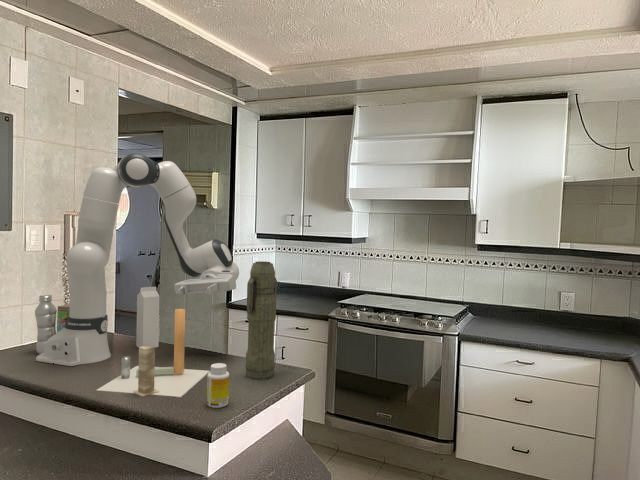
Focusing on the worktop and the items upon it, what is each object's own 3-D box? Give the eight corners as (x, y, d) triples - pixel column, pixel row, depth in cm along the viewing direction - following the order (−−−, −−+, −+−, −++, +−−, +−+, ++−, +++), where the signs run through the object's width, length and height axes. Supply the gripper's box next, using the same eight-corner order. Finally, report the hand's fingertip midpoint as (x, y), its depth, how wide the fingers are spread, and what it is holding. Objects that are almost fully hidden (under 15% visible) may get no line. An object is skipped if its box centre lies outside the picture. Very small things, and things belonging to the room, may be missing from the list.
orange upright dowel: (136, 376, 140) (137, 311, 139) (136, 373, 143) (137, 309, 142) (184, 373, 144) (185, 310, 144) (183, 370, 147) (185, 308, 146)
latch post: (142, 398, 126) (143, 350, 125) (132, 393, 129) (133, 347, 129) (159, 393, 130) (160, 347, 129) (149, 388, 133) (150, 343, 132)
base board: (95, 391, 130) (95, 390, 130) (136, 366, 152) (137, 365, 152) (180, 397, 127) (180, 396, 127) (209, 371, 149) (209, 370, 149)
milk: (158, 347, 176) (160, 287, 175) (142, 349, 172) (143, 288, 171) (151, 343, 180) (153, 285, 179) (135, 346, 176) (137, 286, 175)
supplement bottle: (233, 404, 123) (234, 365, 123) (215, 410, 119) (216, 370, 119) (220, 398, 127) (221, 360, 127) (202, 404, 123) (203, 365, 123)
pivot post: (119, 378, 139) (119, 358, 139) (123, 376, 142) (124, 356, 142) (127, 379, 139) (127, 358, 139) (131, 376, 142) (131, 356, 141)
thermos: (282, 372, 151) (285, 261, 149) (260, 383, 140) (264, 264, 139) (259, 367, 155) (262, 260, 153) (236, 377, 144) (239, 262, 143)
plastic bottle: (62, 352, 165) (61, 294, 165) (43, 357, 159) (41, 297, 159) (50, 351, 168) (49, 294, 168) (31, 355, 162) (29, 296, 162)
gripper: (184, 274, 170) (163, 283, 157) (237, 270, 165) (220, 279, 152) (187, 291, 171) (166, 302, 158) (240, 288, 166) (223, 299, 152)
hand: (193, 291), depth 155 cm, fingers open, 8 cm apart
